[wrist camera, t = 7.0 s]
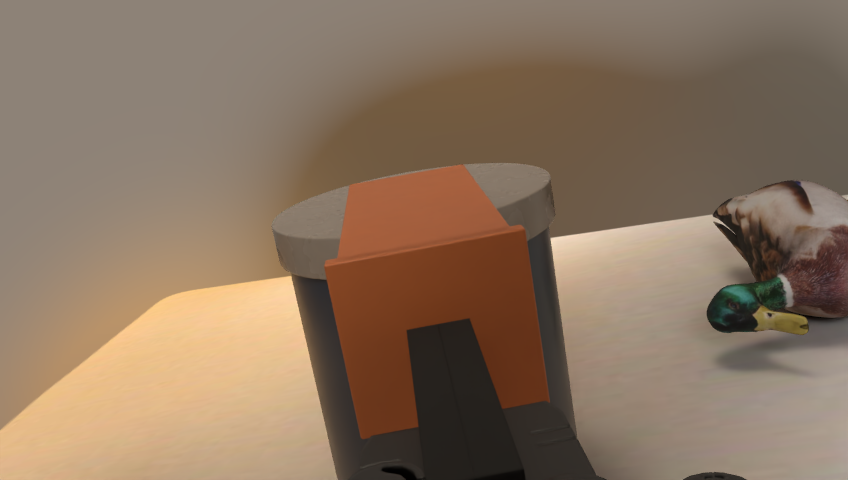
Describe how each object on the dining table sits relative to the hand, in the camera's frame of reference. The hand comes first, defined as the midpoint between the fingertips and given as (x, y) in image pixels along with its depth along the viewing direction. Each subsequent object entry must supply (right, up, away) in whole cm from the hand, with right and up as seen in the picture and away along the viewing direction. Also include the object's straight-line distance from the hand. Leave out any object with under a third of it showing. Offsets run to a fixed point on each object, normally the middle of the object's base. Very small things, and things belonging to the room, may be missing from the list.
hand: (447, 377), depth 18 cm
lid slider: (0, 0, +7) cm, 7 cm away
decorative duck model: (+21, -1, +29) cm, 35 cm away
